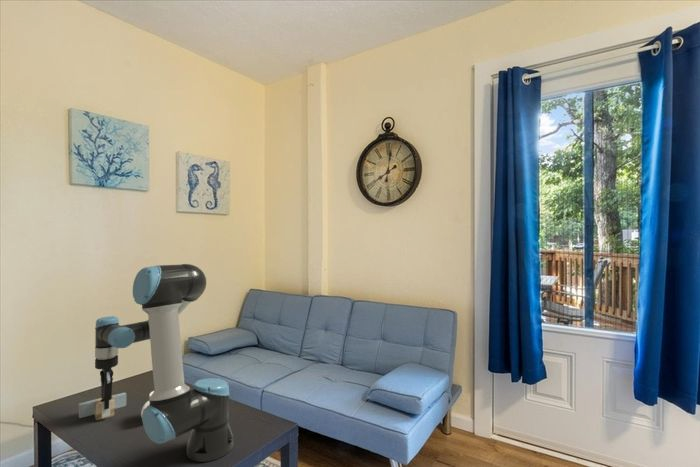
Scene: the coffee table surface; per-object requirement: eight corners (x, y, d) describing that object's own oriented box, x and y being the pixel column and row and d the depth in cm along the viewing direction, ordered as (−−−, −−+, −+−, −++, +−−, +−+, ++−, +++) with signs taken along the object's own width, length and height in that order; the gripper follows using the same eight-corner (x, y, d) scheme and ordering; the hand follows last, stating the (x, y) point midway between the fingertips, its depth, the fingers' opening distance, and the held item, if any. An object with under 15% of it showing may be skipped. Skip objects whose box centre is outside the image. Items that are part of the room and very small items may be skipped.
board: (126, 405, 150) (126, 394, 150) (79, 418, 139) (79, 405, 139) (125, 403, 152) (125, 392, 152) (78, 415, 141) (78, 403, 141)
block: (114, 415, 142) (114, 400, 142) (96, 420, 138) (96, 405, 138) (112, 409, 147) (112, 395, 147) (94, 414, 143) (94, 399, 143)
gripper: (120, 358, 137) (119, 419, 136) (115, 350, 146) (114, 407, 146) (97, 363, 132) (96, 426, 131) (93, 354, 141) (92, 413, 141)
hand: (105, 416), depth 139 cm, fingers closed
